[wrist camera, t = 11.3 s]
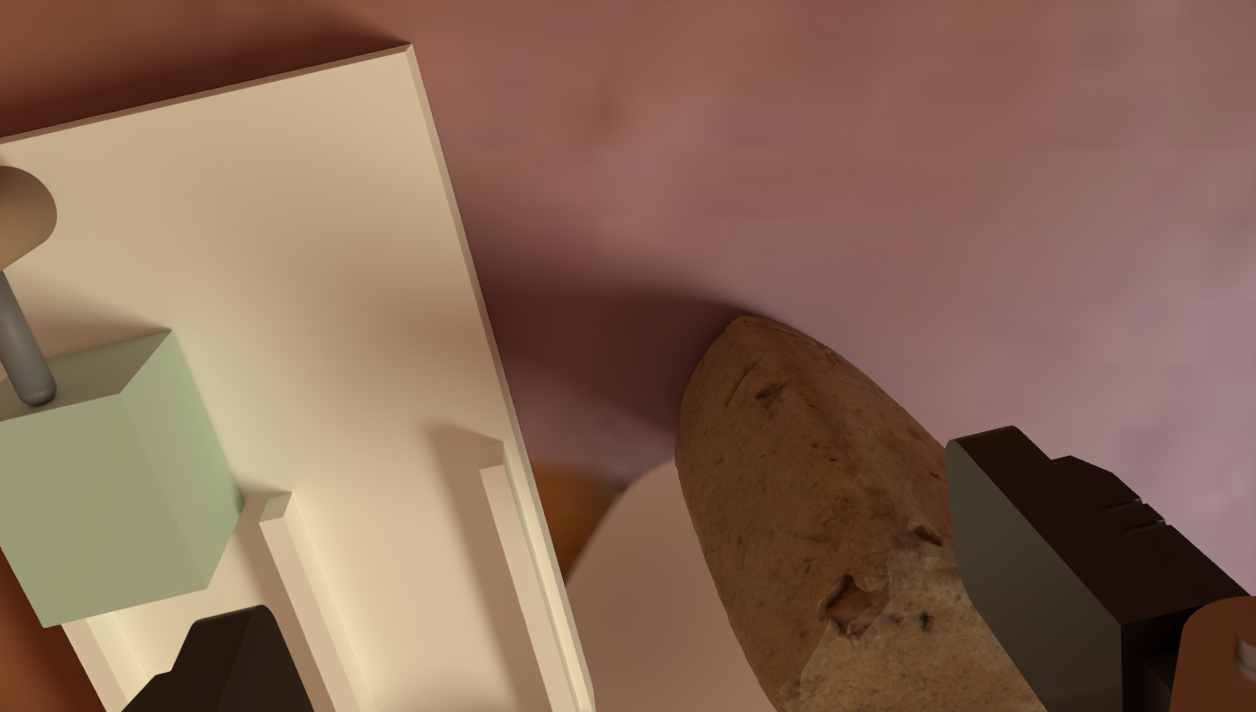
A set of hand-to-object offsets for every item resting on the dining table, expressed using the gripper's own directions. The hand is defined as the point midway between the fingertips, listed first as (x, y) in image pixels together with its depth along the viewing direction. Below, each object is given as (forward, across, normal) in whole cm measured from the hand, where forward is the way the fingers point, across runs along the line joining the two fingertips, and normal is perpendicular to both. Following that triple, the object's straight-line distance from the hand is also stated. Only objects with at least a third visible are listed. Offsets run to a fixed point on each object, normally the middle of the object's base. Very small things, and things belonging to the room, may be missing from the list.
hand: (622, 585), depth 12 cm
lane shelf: (+32, +14, +12) cm, 37 cm away
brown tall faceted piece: (+32, -8, +15) cm, 37 cm away
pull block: (+29, +19, +4) cm, 35 cm away
